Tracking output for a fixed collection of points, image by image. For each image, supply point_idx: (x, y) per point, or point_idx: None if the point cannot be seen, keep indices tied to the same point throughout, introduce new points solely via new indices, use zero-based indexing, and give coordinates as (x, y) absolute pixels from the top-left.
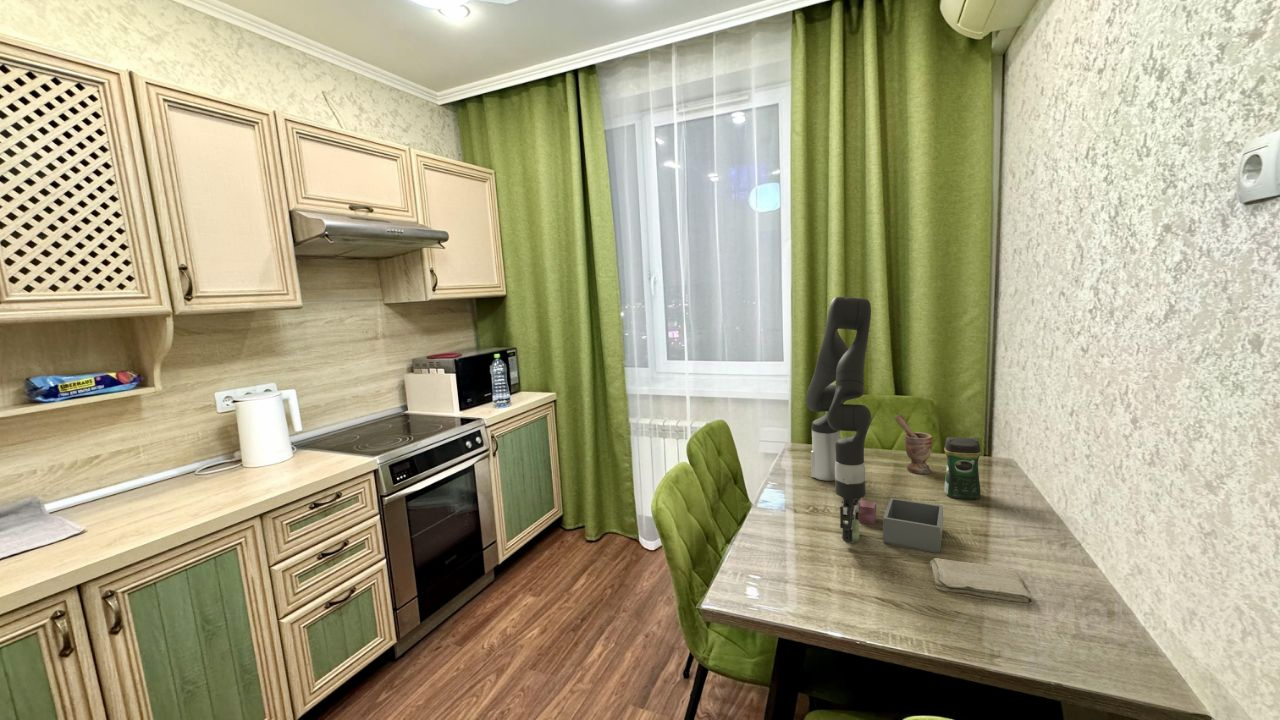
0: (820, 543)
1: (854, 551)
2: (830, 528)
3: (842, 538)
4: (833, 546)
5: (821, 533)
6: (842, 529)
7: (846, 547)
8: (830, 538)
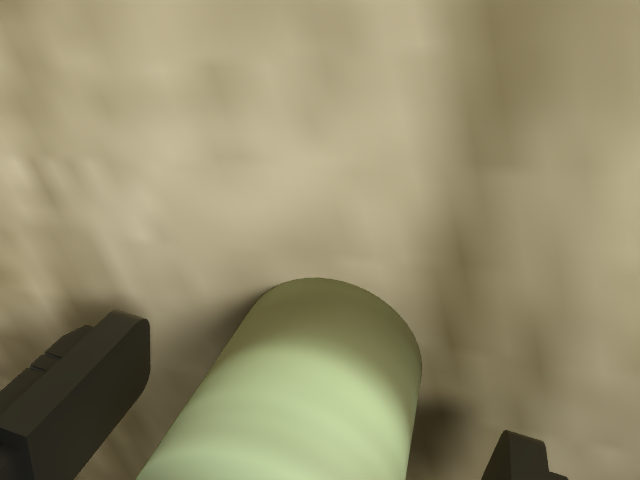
0: (86, 21)
1: None
2: (575, 152)
3: (291, 282)
4: (91, 176)
5: (371, 15)
6: (239, 359)
7: (129, 295)
8: (258, 147)
